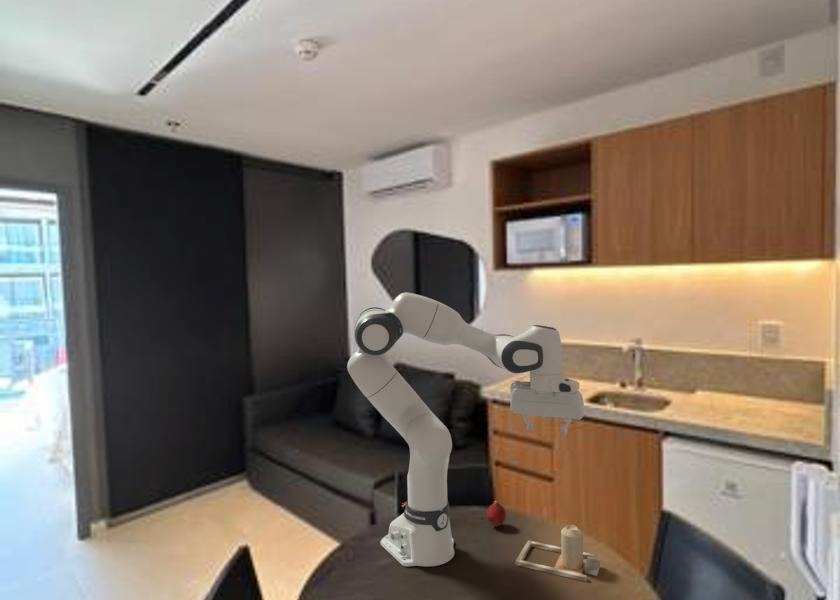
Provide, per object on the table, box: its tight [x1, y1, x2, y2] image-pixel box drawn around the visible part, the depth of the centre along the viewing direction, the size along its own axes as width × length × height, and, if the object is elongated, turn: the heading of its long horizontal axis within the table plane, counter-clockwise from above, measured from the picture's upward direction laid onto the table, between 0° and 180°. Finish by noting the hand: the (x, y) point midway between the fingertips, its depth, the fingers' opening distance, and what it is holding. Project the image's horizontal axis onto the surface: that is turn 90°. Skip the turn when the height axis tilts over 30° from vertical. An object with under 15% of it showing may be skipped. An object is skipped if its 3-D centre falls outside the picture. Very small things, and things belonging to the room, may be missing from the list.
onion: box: [486, 500, 507, 528], centre depth 157 cm, size 6×6×8 cm
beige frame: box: [514, 539, 601, 582], centre depth 136 cm, size 20×12×2 cm, turn 62°
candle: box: [560, 524, 584, 570], centre depth 134 cm, size 6×6×10 cm
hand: (546, 431), depth 142 cm, fingers open, 8 cm apart
